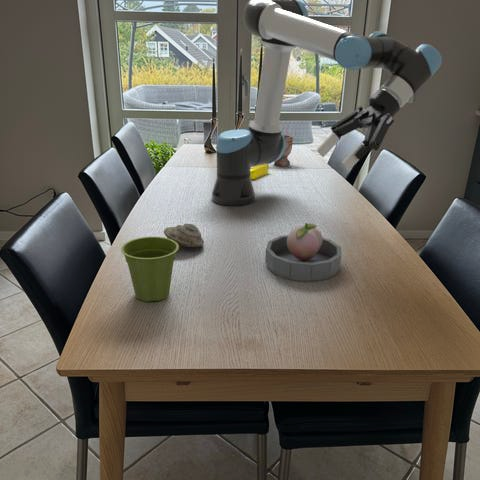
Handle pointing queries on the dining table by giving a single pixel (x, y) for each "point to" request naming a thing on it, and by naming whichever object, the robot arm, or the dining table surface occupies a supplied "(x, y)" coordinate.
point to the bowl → (299, 270)
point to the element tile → (258, 171)
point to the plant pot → (150, 266)
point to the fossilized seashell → (185, 235)
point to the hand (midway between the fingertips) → (331, 159)
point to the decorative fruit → (304, 241)
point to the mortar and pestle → (285, 152)
